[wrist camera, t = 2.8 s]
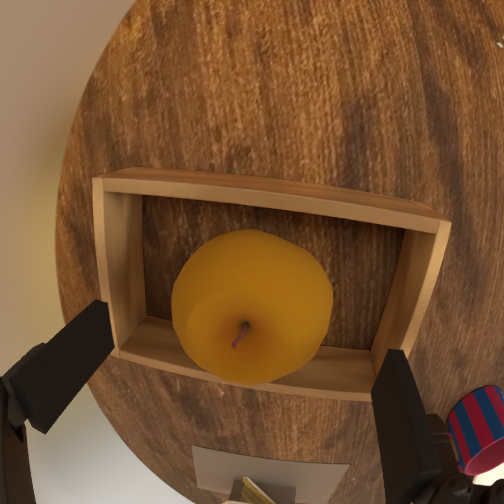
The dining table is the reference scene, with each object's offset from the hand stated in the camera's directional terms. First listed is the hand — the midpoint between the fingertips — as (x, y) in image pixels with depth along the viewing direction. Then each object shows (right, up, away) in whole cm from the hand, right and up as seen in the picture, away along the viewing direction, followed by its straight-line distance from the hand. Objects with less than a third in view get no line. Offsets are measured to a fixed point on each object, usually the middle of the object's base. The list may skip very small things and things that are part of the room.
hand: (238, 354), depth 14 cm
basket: (+1, +3, +8) cm, 9 cm away
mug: (+22, -12, +11) cm, 28 cm away
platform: (+2, -24, +18) cm, 30 cm away
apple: (+1, +3, +8) cm, 9 cm away
